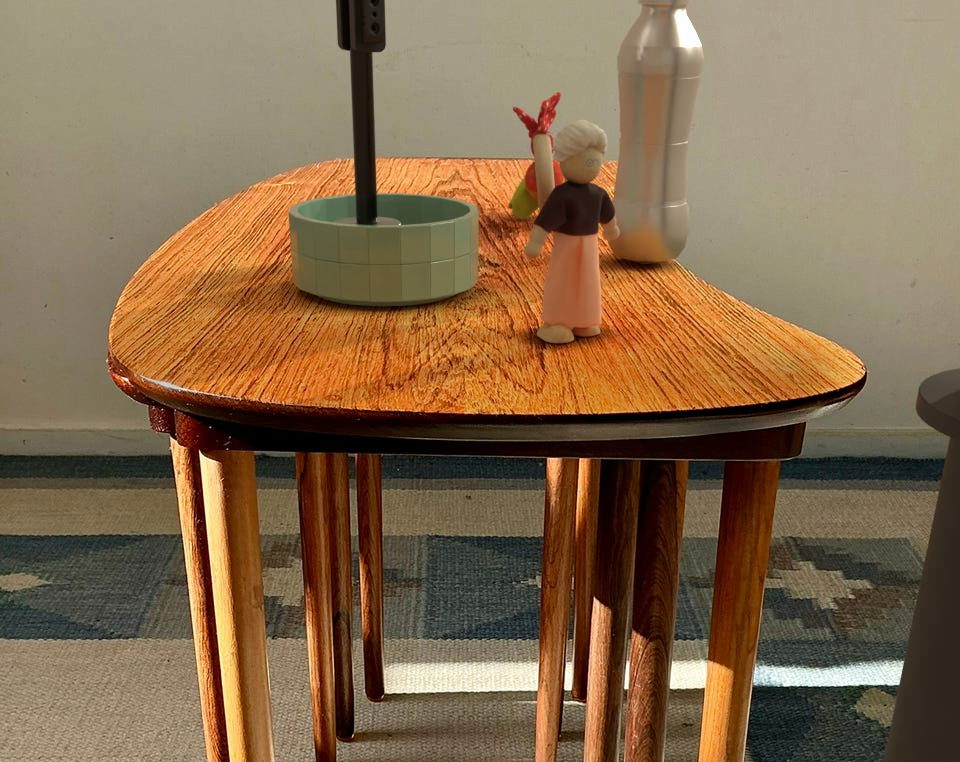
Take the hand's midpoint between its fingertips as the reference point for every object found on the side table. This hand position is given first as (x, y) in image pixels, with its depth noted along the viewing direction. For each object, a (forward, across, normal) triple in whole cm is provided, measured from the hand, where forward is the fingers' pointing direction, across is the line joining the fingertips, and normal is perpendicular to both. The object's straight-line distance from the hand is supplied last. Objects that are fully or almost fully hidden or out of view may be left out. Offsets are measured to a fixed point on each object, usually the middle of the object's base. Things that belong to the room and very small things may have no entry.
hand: (361, 49), depth 81 cm
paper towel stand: (+14, 0, 0) cm, 14 cm away
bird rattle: (+16, +15, -25) cm, 33 cm away
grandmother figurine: (+16, -18, -6) cm, 24 cm away
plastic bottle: (+16, -3, -23) cm, 28 cm away
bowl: (+16, -1, -1) cm, 16 cm away
